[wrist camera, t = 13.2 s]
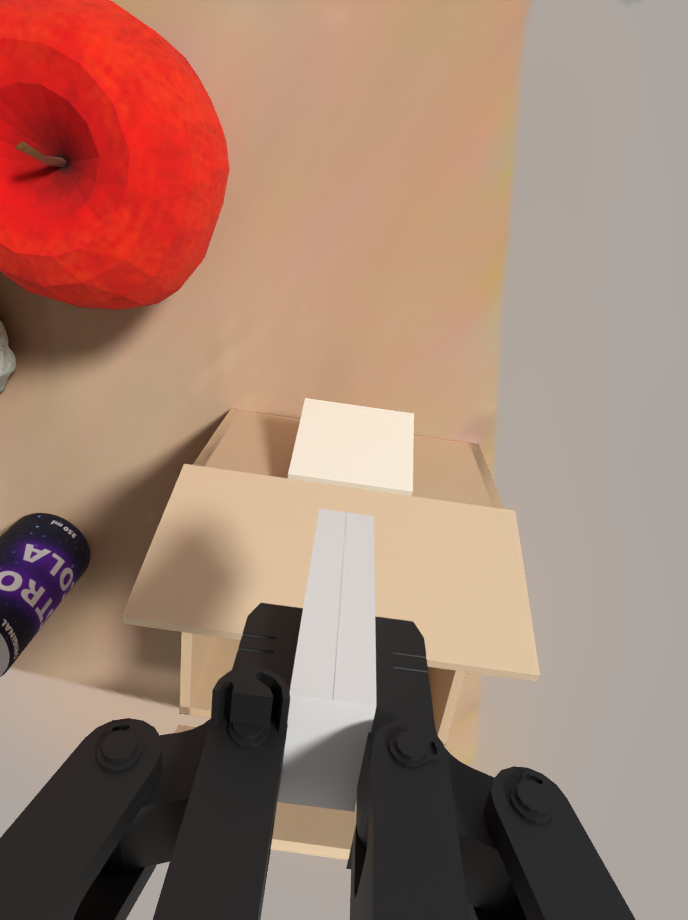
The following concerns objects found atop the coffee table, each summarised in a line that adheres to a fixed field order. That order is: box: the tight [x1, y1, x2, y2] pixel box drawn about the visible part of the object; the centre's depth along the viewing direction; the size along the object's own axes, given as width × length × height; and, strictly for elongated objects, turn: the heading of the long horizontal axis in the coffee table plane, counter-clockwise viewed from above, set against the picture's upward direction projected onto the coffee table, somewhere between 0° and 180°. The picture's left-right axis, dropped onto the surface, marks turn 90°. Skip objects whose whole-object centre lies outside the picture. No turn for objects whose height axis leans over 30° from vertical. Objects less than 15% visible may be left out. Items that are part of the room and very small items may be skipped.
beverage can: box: [0, 513, 90, 677], centre depth 37 cm, size 6×6×12 cm
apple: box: [0, 0, 229, 310], centre depth 26 cm, size 12×12×13 cm
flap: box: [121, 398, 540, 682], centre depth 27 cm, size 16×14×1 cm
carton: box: [180, 409, 505, 747], centre depth 37 cm, size 16×16×10 cm
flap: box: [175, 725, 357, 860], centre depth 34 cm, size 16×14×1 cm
